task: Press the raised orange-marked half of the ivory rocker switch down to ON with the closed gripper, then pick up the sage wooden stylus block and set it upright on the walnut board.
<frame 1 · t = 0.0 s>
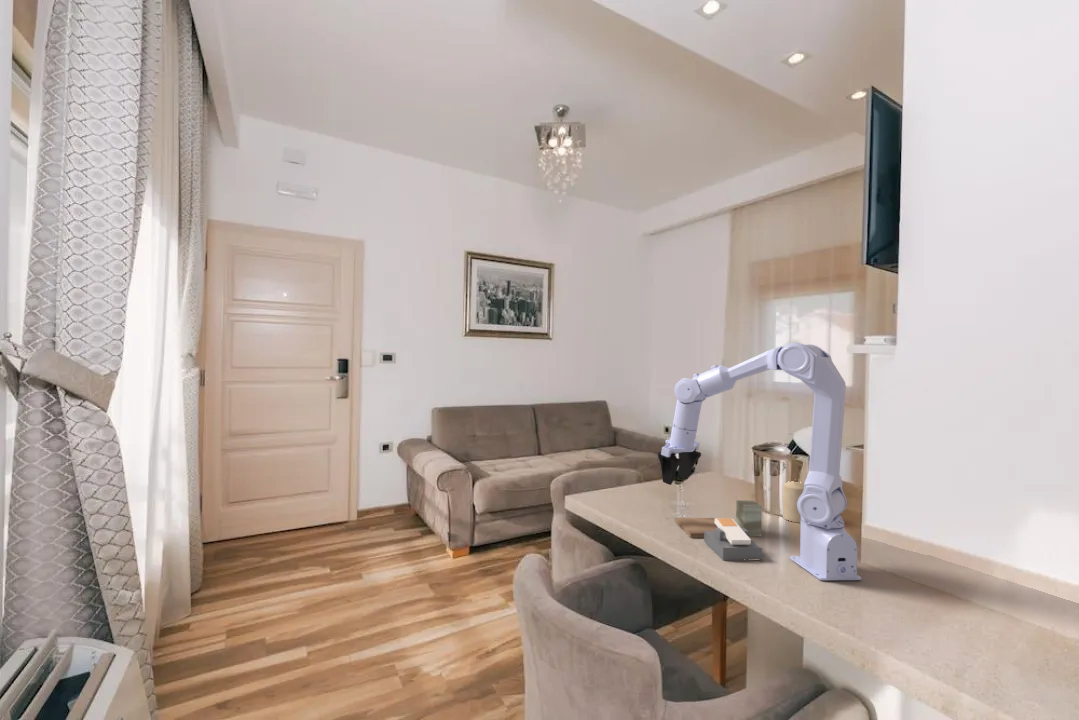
hand: (675, 480, 111), 11 cm above the counter, tool pointing down, fingers open, 7 cm apart
walnut board: (703, 529, 107), on the counter
switch base: (731, 550, 95), on the counter
candle: (794, 520, 116), on the counter
stylus block: (748, 532, 106), on the counter
rocker: (731, 530, 95), point 4 cm above the counter, hinge at -12.0°
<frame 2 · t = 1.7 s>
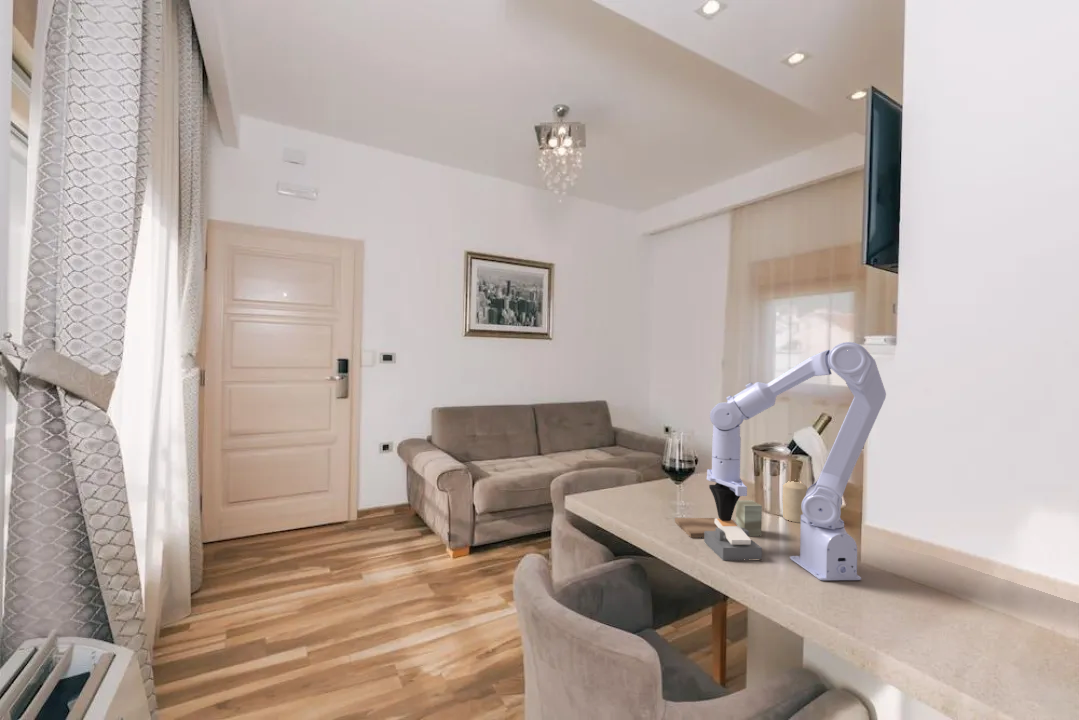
hand: (724, 519, 98), 5 cm above the counter, tool pointing down, fingers closed
rocker: (731, 530, 95), point 4 cm above the counter, hinge at -12.0°, touching gripper
everything else where it was.
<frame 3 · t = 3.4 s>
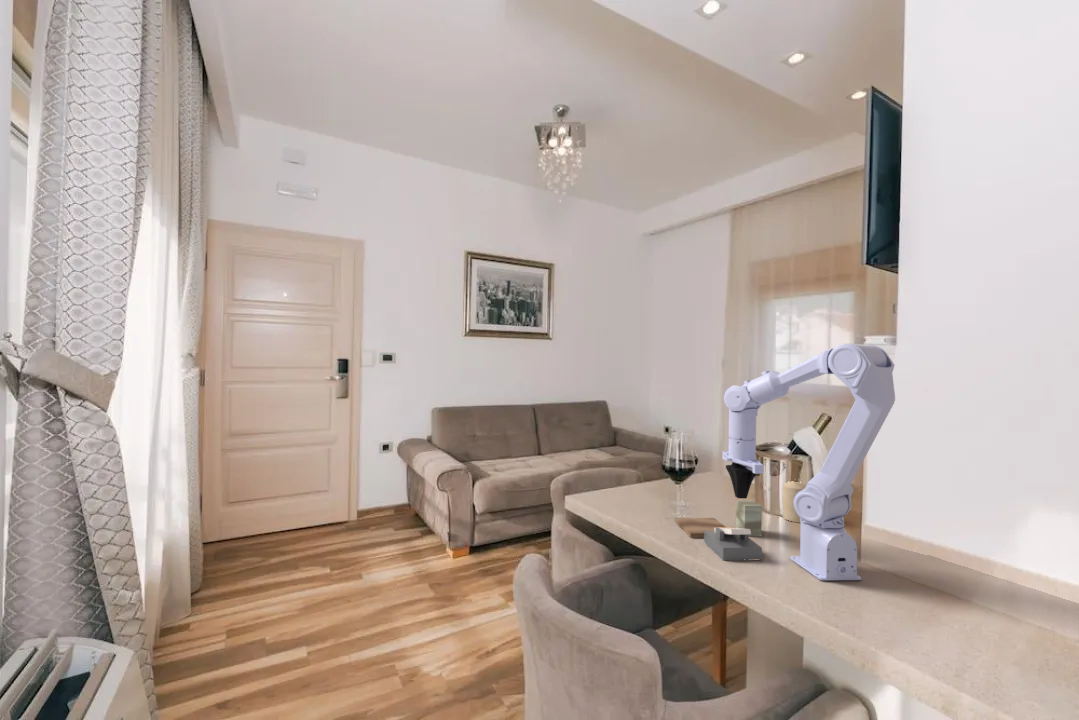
hand: (741, 497, 103), 9 cm above the counter, tool pointing down, fingers closed
rocker: (731, 530, 95), point 4 cm above the counter, hinge at 18.3°, touching switch base
everything else where it was.
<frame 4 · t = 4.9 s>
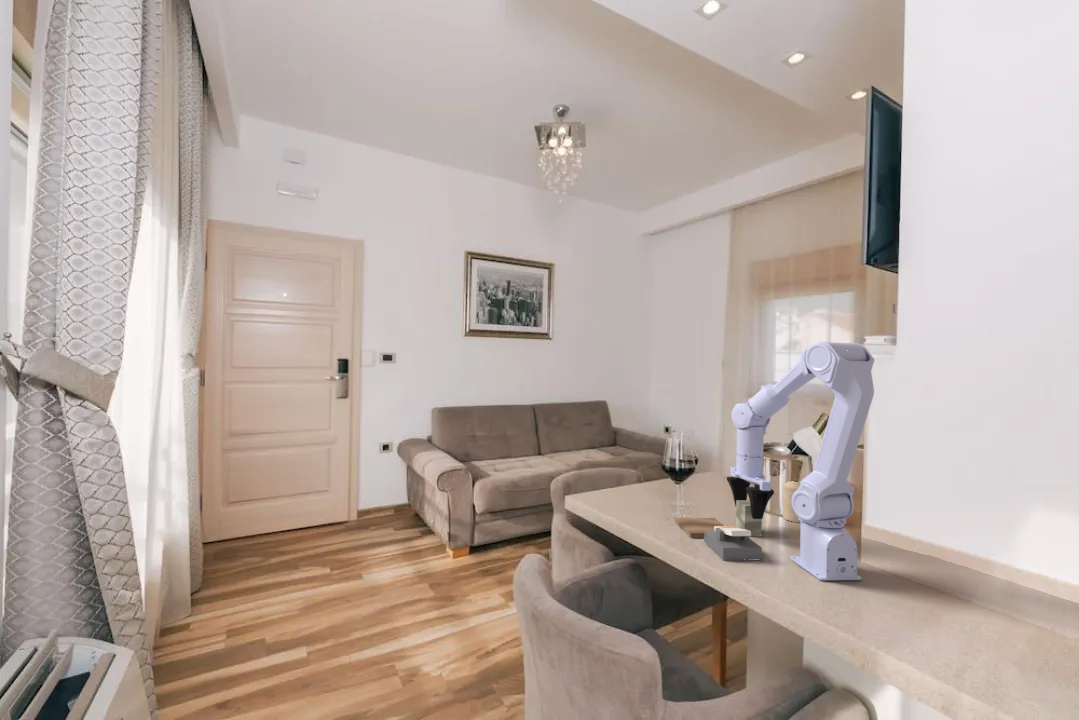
hand: (748, 512, 106), 5 cm above the counter, tool pointing down, fingers open, 7 cm apart
rocker: (731, 530, 95), point 4 cm above the counter, hinge at 13.8°
everything else where it was.
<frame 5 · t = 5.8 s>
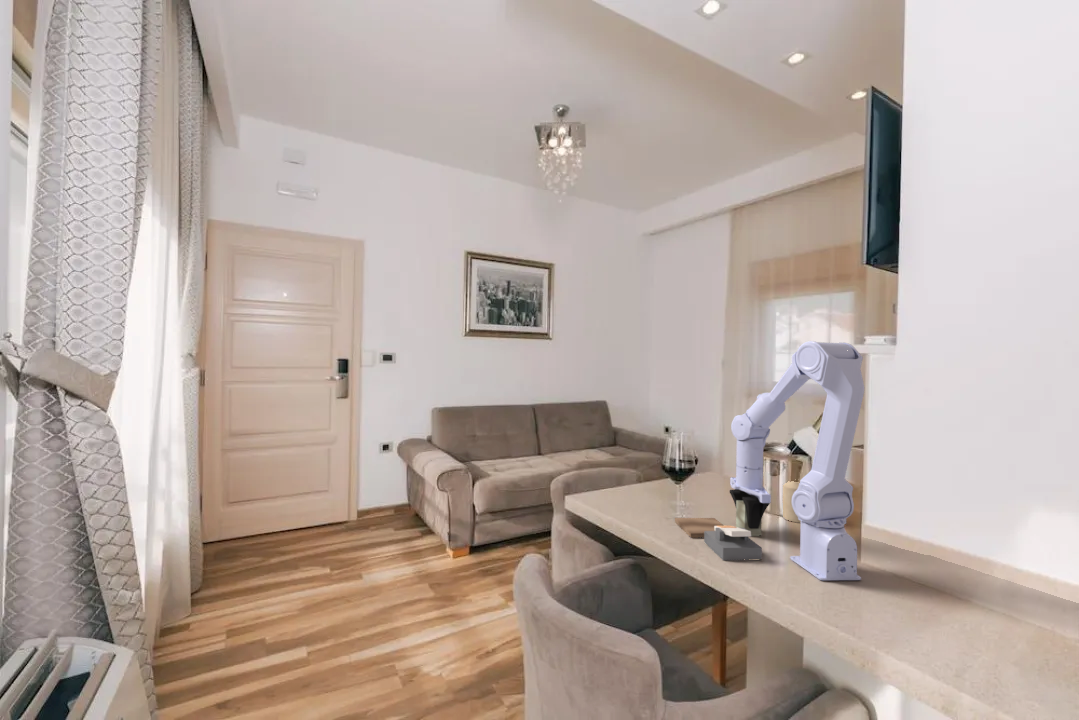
hand: (748, 524, 106), 2 cm above the counter, tool pointing down, fingers closed on stylus block, 4 cm apart
stylus block: (748, 532, 106), on the counter, touching gripper
rocker: (731, 530, 95), point 4 cm above the counter, hinge at 12.6°
everything else where it was.
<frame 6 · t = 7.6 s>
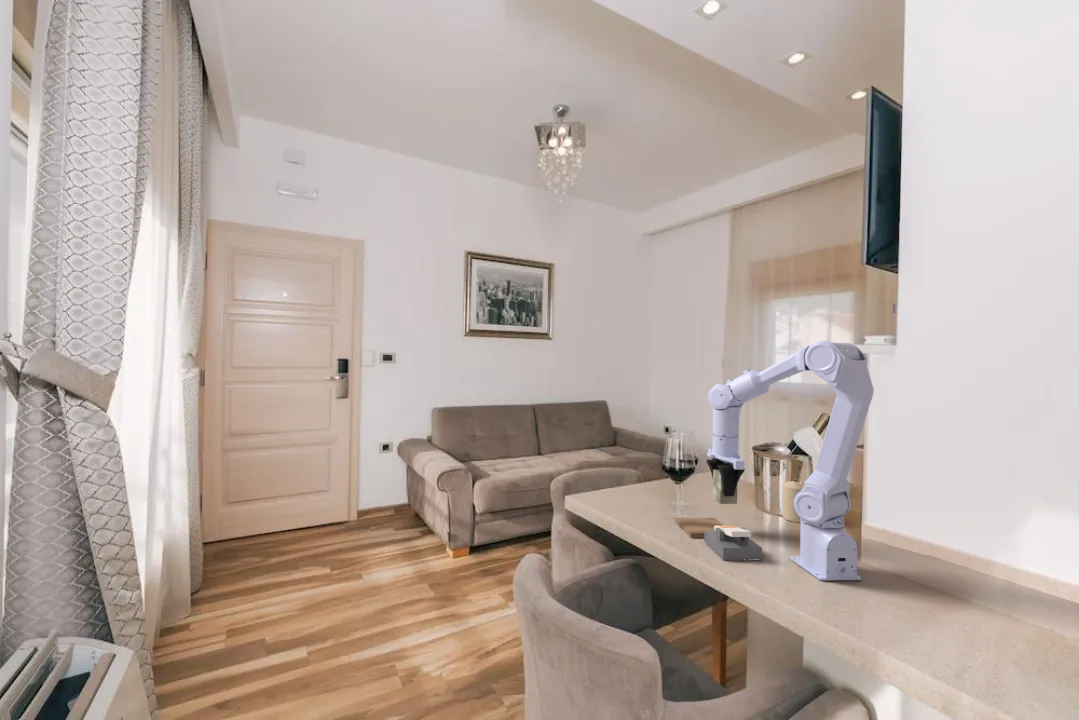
hand: (724, 492, 106), 9 cm above the counter, tool pointing down, fingers closed on stylus block, 4 cm apart
stylus block: (724, 501, 106), point 7 cm above the counter, touching gripper
rocker: (731, 530, 95), point 4 cm above the counter, hinge at 11.8°
everything else where it was.
when the fingers open (4 cm above the counter, at t = 9.4 s): stylus block drops 1 cm, resting on walnut board.
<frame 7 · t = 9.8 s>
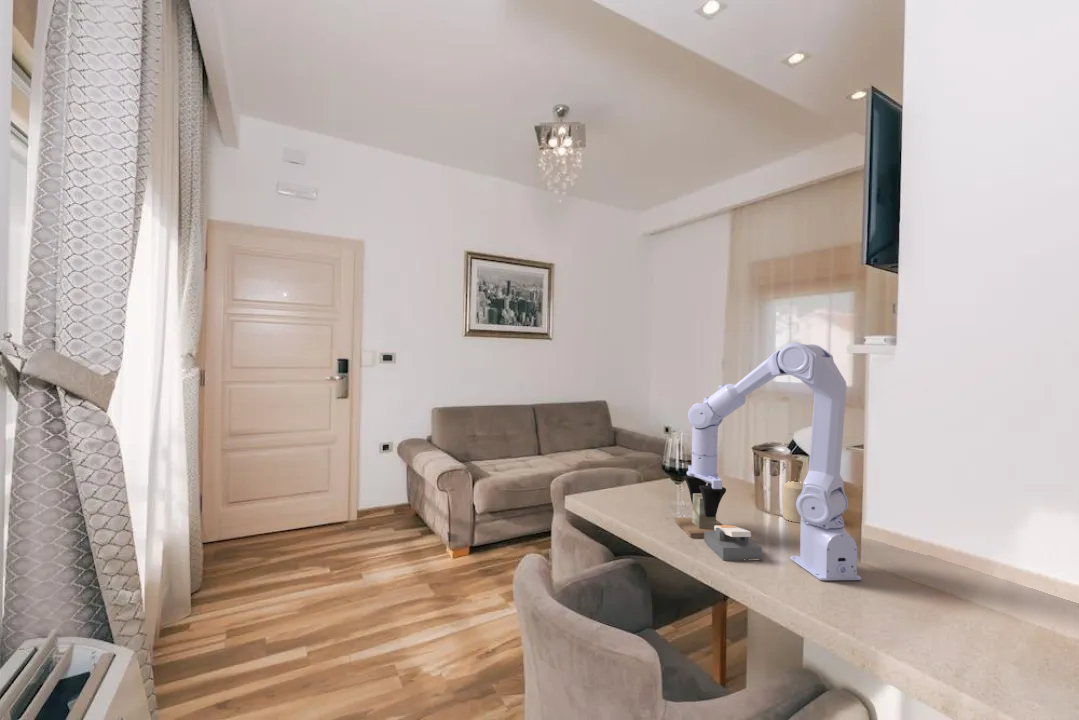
hand: (703, 511, 107), 4 cm above the counter, tool pointing down, fingers open, 7 cm apart
stylus block: (703, 525, 107), point 1 cm above the counter, touching walnut board
everything else where it was.
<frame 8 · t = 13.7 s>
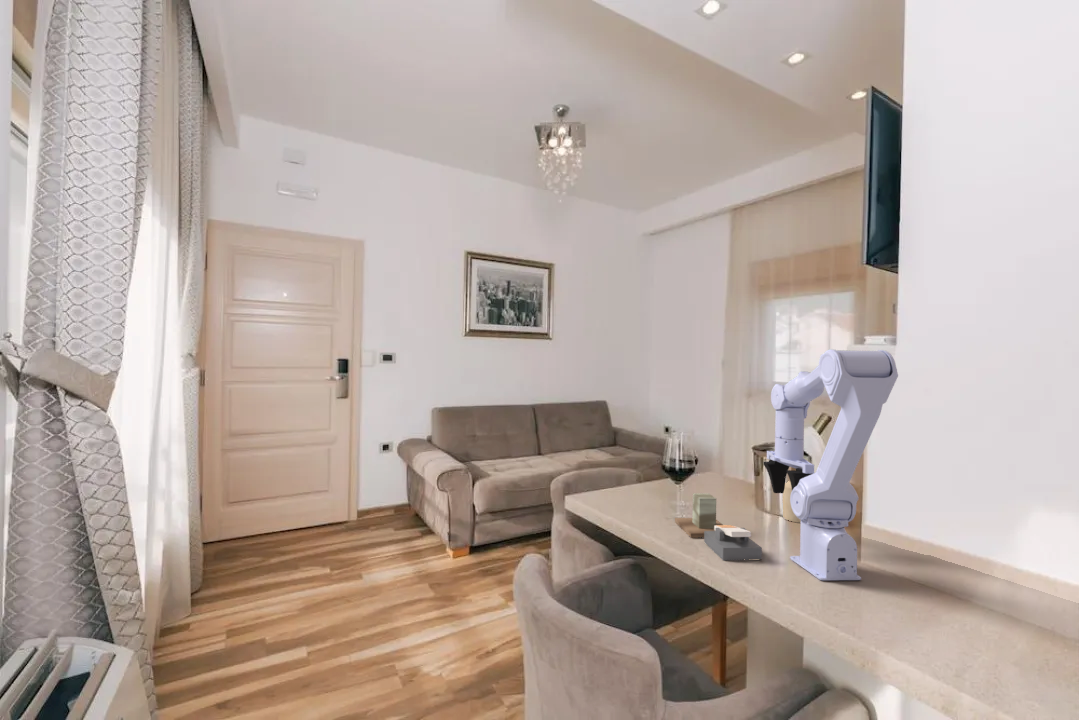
hand: (788, 497, 102), 9 cm above the counter, tool pointing down, fingers open, 7 cm apart
nothing on the counter moved.
at the end: rocker at +11° (first picture: -12°); stylus block 0.2 cm off-centre on the walnut board, point 1.0 cm above the walnut board's base; stylus block tilted 0° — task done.
